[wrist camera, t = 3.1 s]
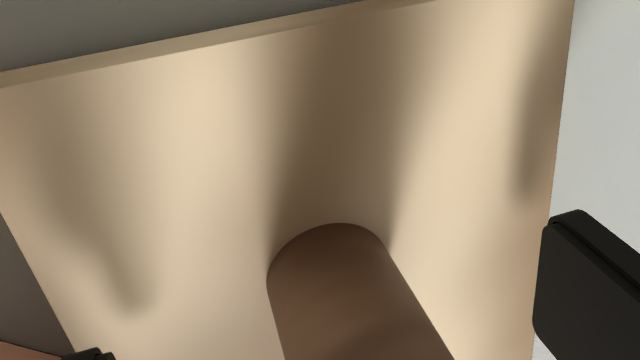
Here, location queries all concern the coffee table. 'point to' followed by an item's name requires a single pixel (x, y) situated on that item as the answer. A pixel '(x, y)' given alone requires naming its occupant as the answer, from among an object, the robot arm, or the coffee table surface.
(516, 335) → the lid
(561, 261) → the robot arm
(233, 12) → the coffee table surface
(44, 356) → the bowl
